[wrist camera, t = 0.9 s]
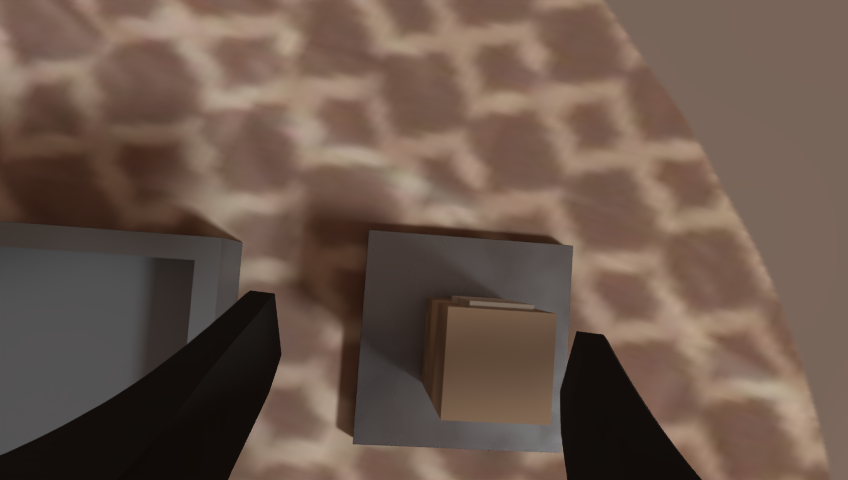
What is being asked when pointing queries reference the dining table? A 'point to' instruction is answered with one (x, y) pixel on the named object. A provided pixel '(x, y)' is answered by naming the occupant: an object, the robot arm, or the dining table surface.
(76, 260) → the bin
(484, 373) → the small brown box
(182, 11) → the dining table surface
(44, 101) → the dining table surface
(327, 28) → the dining table surface
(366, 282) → the stud plate
